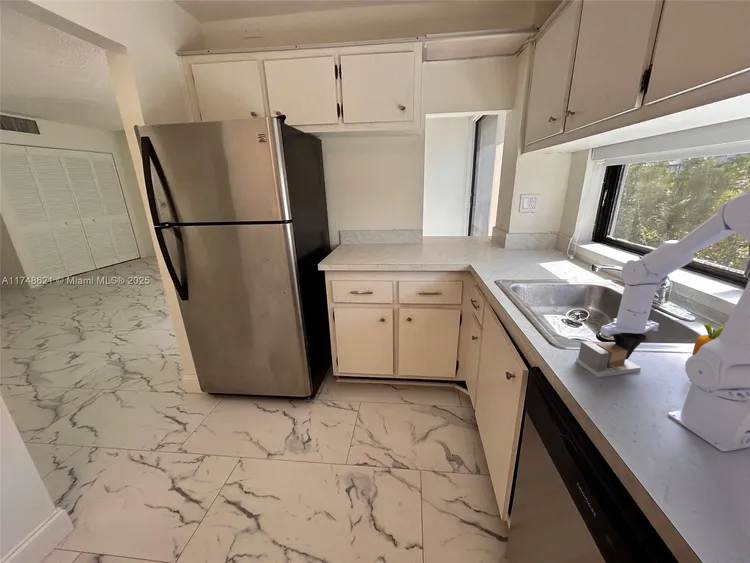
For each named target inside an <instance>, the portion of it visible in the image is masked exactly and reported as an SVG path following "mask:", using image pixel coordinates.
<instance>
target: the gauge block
mask: <svg viewBox="0 0 750 563" xmlns="http://www.w3.org/2000/svg"><path fill="white" fill-rule="evenodd" d="M596 345H598V346H599V347H601V348H603V349H604V350H606V351H608V352H609V353H610V355H609V359H608V363H607V368H612V369H614V370H616V371H619V370H620V369H618V368H617V367H621V366H624V362H625V359H626V355H627V350H625V349H623V348H622V347H620V346H618V345H616V344H615V342H613V341H611V342H610V341H609V342H608V341H607V342H601V343H597V344H596Z"/></svg>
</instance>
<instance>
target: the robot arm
mask: <svg viewBox="0 0 750 563" xmlns="http://www.w3.org/2000/svg"><path fill="white" fill-rule="evenodd" d="M735 233H737V235H739V236H740V237H742V238H743V239H745V240H747V241H748V242H749V243H750V190H745V191H742V192H740V193H737V194H735V196H734V195H733V197H731V198H730V199H729V200H728V201H725V202H724V203H722V204H720V205H719V206H718V208H717V211H716V213H714V214H713V215H712V216H711V217H710V218H708V219H706V220H705V221H704V222H702V223H701V224H700V225H698V226H697V227H696V228H694V229H692V231H690V232H689V233H688V234H686V235H685V236H683V237H682V238H681V239H679V240H664V241H661V242H660V243H659V244H658V245H659V246H658V247H657V248H655V249H653V250H652V251H651V252H649V253H645V254H644V255H643V256H642V258H640V259H637V260H636V259H631V260H628V261H627V262H625V264H623V266H622V268H621V277H622V280H623V281H624V282H625V283H624V287H623V293H622V296H621V299H620V304H619V308H618V313H617V316H616V318H613V319H612V320H613V322H610V323H608V324H606V325H605V324H604V325H601V326H600V331H599V333H600V334H601V335H604V336H605V337H611V335H612V338H613V340H614V344H616V345H618V346H620V347H622V348H623V349H625V350H627V355H626V359H628V360H629V358H630V357H631V355H632V354H633V352H634V351H635V350H636V348H637V347H638V346H639V345H640V344H642V342H645V340H646V338H647V335H646V334H645V333H646V332H648V331H652V332H658V330H659V326H660V324H659V323H658V322H655V321H653V320H649V316H650V314H651V309H652V306H653V302H654V299H655V294H656V293H657V291H659V290H660V286H661V285H662V284H664V283H665V282H666V281H667V279H668V278H669V275H670V274H672V273H674V272H676V271H677V270H679V269H681V268H683V267H685V266H687V265H688V264H690V263H691V262H693V260H694V257H695V253H698V252H699V251H701V250H703V249H706V248H707V247H709V246H711V245H713V244H715V243H718V242H719V241H721V240H723V239H725V238H727V237H729V236H731V235H733V234H735ZM725 323H726V324H725V326H724V328H723V330H722V332H721V334H720V335H719V337H717V338H716V339H714V340H712V341H710V342H708V343H706V344H704V345H702V346H701V347H700V349H699V351H698V352H697V353H696V354H695V355H691V356H689V357H688V358H687V359H686V361H685V366H684V367H685V368H684V369H685V373H686V376H687V378H688V380H689V383H691V384H690V386H689V388H688V392H687V395H686V397H685V400H684V404H683V406H682V409H681V410H676V411H669V412H667V416H669V417H670V418H671V419H673V420H675V421H676V422H677V423H679V424H680V425H681V426H683V427H685V428H687V429H688V430H689V431H691V432H692V433H694V434H695V435H697V436H698V437H700V438H701V439H702V440H704V441H706V442H707V443H709V444H710V445H712V446H714V447H715V448H716V449H718V450H719V451H721V452H730V451H731V452H732V451H736V450H741V449H745V448H750V280H749V281H748V283H747V284H746V286H745V288H744V290H743V292H742V294H741V296H740V297H739V299H738V301H737V302H736V305H735V306H734V308H733V310H732V312H731V313H730V316H729V317H728V319H727V321H726V322H725Z"/></svg>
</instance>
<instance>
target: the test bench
mask: <svg viewBox="0 0 750 563" xmlns="http://www.w3.org/2000/svg"><path fill="white" fill-rule="evenodd" d="M609 355H610V353H609V352H608V351H606V350H604V349H603V348H601V347H599V346H598V345H597V344H596V343H594V342H592V341H590V340H587V341H585V340H584V341H581V342H580V346H579V351H578V357H576V359H575V362H576V364H578V365H579V366H581V367H582V368H583V369H585V370H586V371H588V372H589V373H591V374H592V375H594V376H595V377H597V378H603V377H604V378H605V377H609V376H619V375H624V374H625V375H626V374H633V373H640V372H641V370H642V367H641V366H639V365H638V364H636V363H634V362H632V361H631V360H629V358H628V359H625V362H624V366H621V367H617V368H618V369H620V370H619V371H616V370H614V369H612V368H607V363H608V359H609Z"/></svg>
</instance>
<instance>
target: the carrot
mask: <svg viewBox="0 0 750 563" xmlns="http://www.w3.org/2000/svg"><path fill="white" fill-rule="evenodd" d="M726 323H727V322H724V323H723V324H722V325H721V326H719V327H718V328H717V329H716V328H712V324H710V322H707V323H704V324H703V326H704V328H705V330H706V332H707V334H702V335H699V336H697V337H696V339H695V343H694V346H693V350H692V355H695V354H696V353H697V352H698V351H699V349H700V347H701V346H702V345H704V344H706V343H708V342H710V341H712V340H714V339H716V338H717V337H719V335H720V334H721V332H722V330H723V328H724V326H725V324H726ZM692 355H691V356H692Z"/></svg>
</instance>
